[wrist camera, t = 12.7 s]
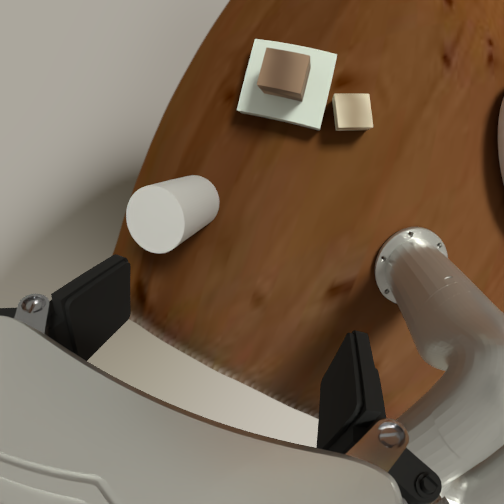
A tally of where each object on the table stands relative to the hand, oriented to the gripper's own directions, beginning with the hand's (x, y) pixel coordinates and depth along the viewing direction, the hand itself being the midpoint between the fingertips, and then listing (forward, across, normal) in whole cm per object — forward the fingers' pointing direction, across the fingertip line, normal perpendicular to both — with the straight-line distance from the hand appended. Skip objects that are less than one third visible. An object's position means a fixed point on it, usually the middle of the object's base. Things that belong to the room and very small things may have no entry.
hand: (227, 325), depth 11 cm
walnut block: (+27, +4, -16) cm, 32 cm away
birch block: (+30, -5, -14) cm, 34 cm away
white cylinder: (+31, +14, +4) cm, 34 cm away
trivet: (+30, +4, -16) cm, 34 cm away
